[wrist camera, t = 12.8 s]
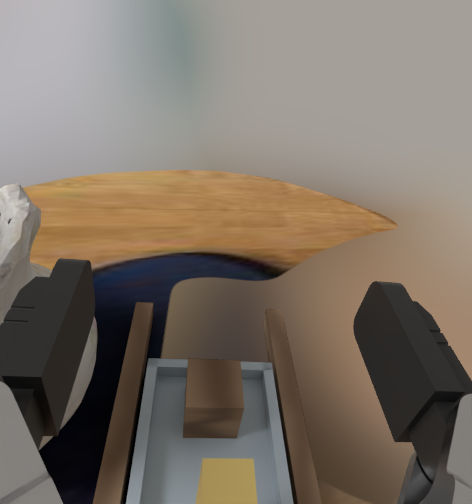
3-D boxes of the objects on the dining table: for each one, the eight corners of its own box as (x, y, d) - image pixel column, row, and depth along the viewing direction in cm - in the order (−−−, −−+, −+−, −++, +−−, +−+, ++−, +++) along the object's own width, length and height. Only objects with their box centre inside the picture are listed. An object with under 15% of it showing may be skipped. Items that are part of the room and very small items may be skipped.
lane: (88, 550, 29) (85, 538, 27) (136, 315, 48) (136, 301, 47) (320, 545, 31) (328, 534, 30) (278, 323, 50) (281, 309, 49)
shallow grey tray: (116, 592, 27) (102, 518, 19) (148, 374, 42) (147, 282, 34) (295, 586, 29) (349, 515, 21) (266, 378, 43) (292, 291, 35)
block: (182, 437, 35) (185, 407, 32) (185, 389, 39) (188, 358, 36) (236, 438, 36) (244, 408, 33) (233, 390, 40) (240, 360, 37)
